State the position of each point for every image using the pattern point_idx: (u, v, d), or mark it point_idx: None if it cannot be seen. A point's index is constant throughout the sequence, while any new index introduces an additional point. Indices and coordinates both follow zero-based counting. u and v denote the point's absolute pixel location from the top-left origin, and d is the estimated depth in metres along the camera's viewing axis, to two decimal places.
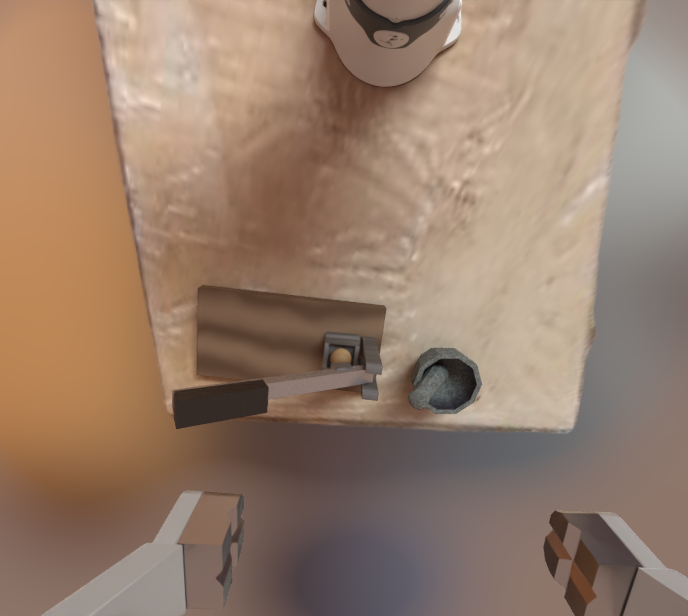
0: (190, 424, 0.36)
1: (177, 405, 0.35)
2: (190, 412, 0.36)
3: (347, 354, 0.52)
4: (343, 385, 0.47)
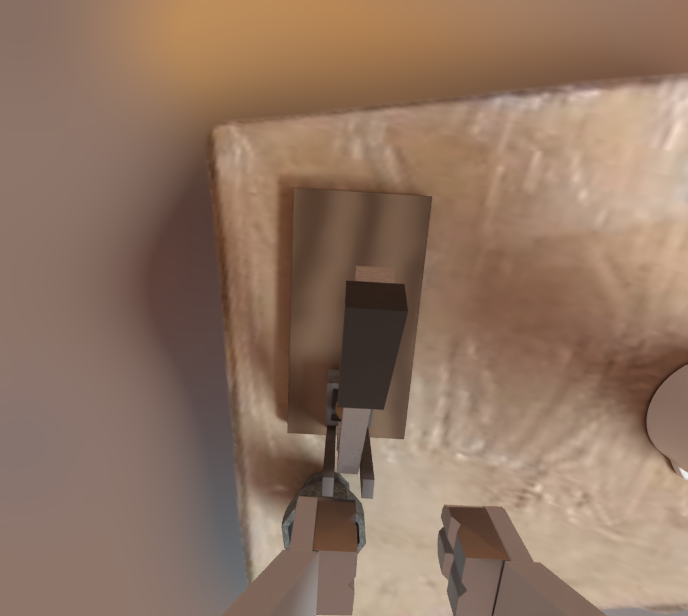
0: (347, 326, 0.18)
1: (397, 312, 0.18)
2: (374, 327, 0.18)
3: None
4: (341, 452, 0.32)
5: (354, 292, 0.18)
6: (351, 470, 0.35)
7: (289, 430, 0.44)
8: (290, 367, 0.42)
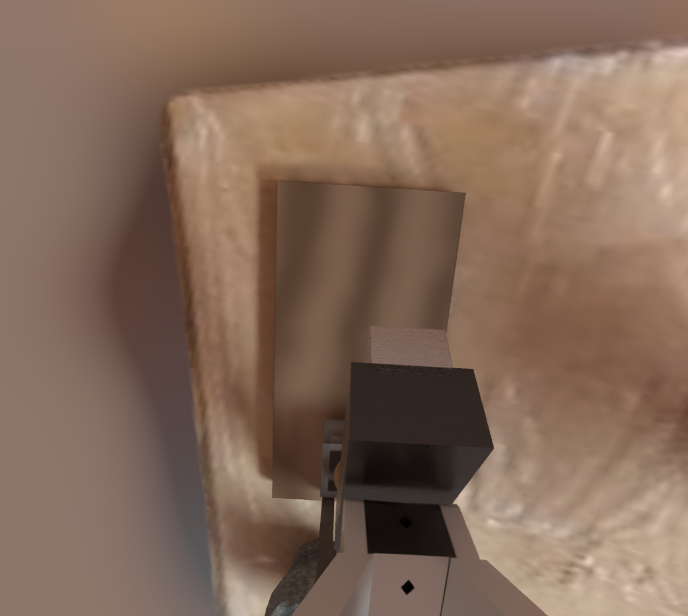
0: (353, 466, 0.09)
1: (468, 448, 0.08)
2: (412, 468, 0.09)
3: None
4: None
5: (369, 394, 0.08)
6: None
7: (274, 494, 0.34)
8: (275, 416, 0.32)
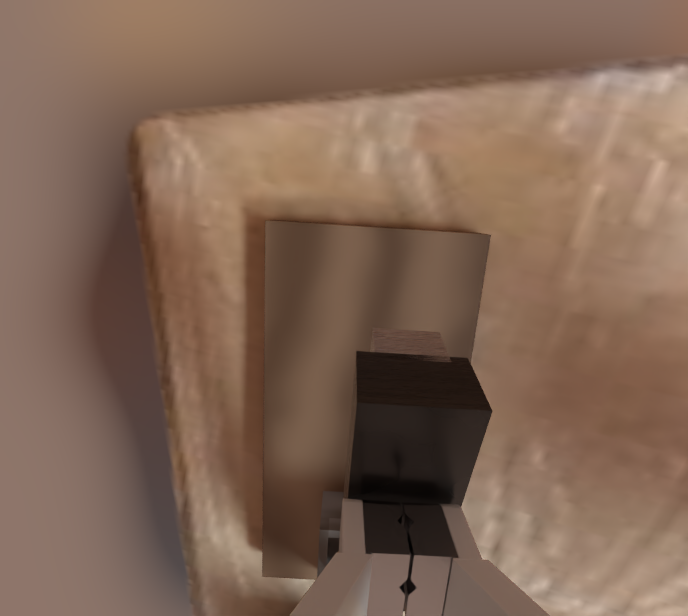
0: (360, 444, 0.09)
1: (468, 413, 0.08)
2: (417, 446, 0.09)
3: None
4: None
5: (374, 372, 0.09)
6: None
7: (265, 573, 0.30)
8: (265, 488, 0.28)
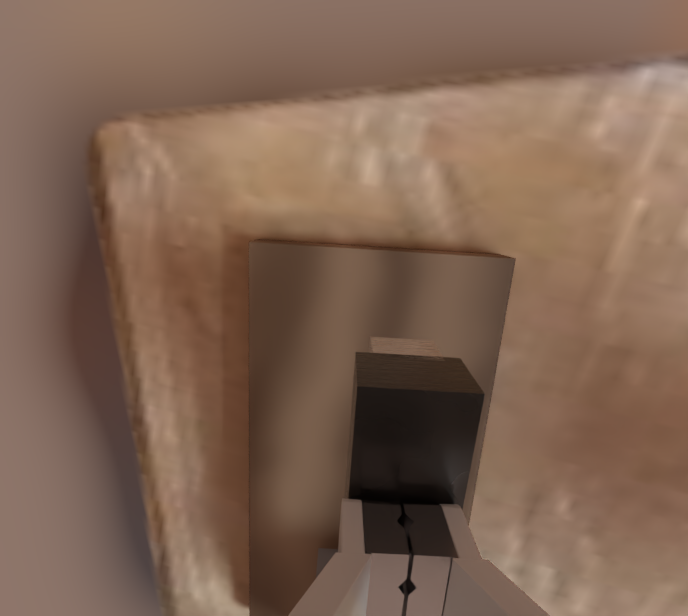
0: (361, 433, 0.09)
1: (462, 396, 0.09)
2: (416, 435, 0.09)
3: None
4: None
5: (372, 366, 0.10)
6: None
7: None
8: (251, 544, 0.24)
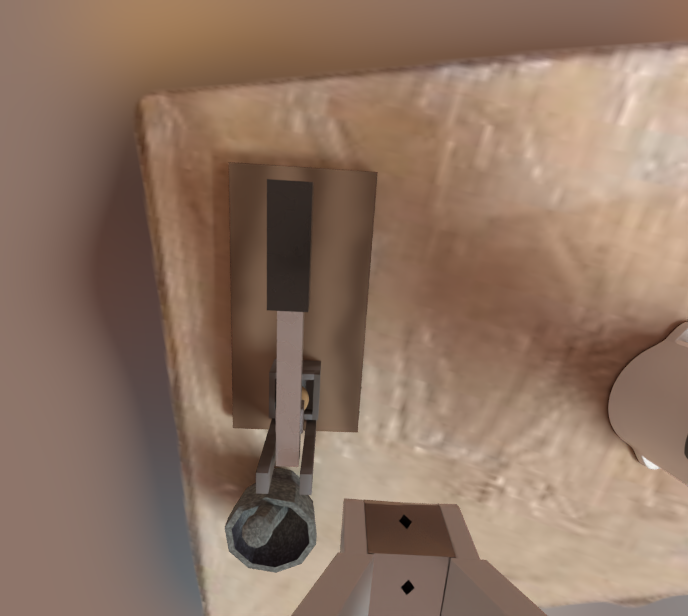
0: (269, 199, 0.25)
1: (305, 183, 0.24)
2: (289, 200, 0.25)
3: None
4: (279, 422, 0.32)
5: None
6: (291, 458, 0.33)
7: (235, 425, 0.41)
8: (233, 357, 0.39)
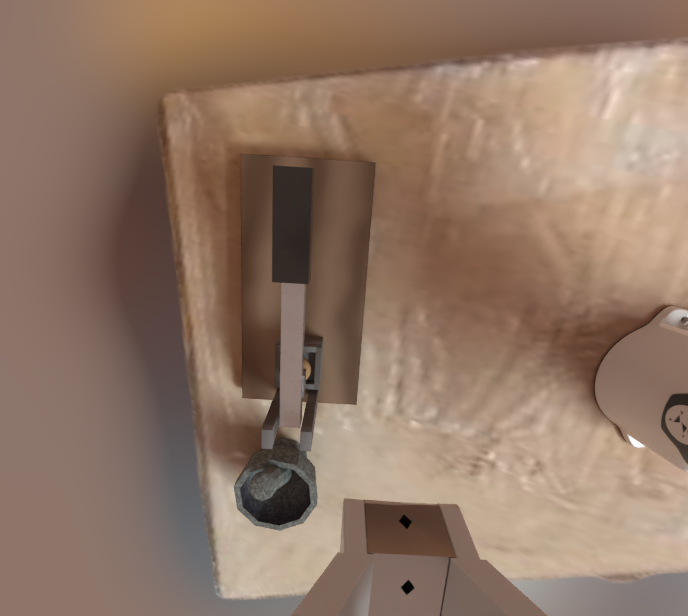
0: (274, 183, 0.28)
1: (305, 169, 0.28)
2: (292, 184, 0.28)
3: None
4: (282, 386, 0.35)
5: None
6: (293, 420, 0.36)
7: (244, 395, 0.45)
8: (243, 332, 0.43)
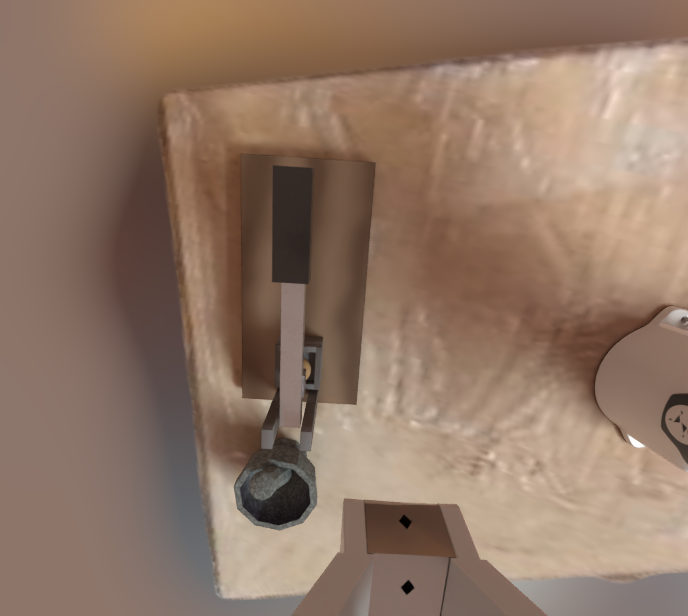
0: (274, 183, 0.28)
1: (305, 169, 0.28)
2: (292, 184, 0.28)
3: None
4: (282, 386, 0.35)
5: None
6: (293, 420, 0.36)
7: (244, 395, 0.45)
8: (243, 332, 0.43)
